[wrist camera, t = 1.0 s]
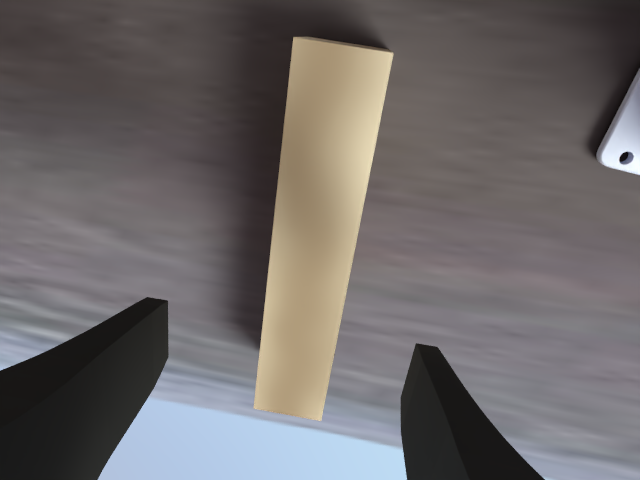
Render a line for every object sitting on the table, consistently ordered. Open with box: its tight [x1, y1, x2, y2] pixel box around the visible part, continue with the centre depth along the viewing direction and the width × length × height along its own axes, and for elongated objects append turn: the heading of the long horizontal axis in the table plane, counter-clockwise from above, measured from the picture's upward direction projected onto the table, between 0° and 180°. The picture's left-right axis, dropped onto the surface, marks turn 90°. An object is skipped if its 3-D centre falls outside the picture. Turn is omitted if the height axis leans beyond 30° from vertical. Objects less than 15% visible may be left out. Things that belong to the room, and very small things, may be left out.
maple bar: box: [254, 37, 393, 421], centre depth 19 cm, size 3×16×4 cm, turn 172°
